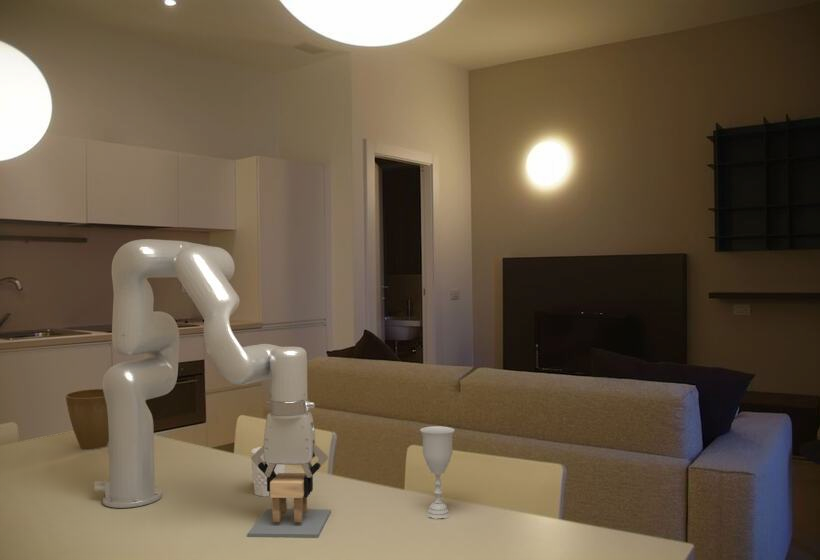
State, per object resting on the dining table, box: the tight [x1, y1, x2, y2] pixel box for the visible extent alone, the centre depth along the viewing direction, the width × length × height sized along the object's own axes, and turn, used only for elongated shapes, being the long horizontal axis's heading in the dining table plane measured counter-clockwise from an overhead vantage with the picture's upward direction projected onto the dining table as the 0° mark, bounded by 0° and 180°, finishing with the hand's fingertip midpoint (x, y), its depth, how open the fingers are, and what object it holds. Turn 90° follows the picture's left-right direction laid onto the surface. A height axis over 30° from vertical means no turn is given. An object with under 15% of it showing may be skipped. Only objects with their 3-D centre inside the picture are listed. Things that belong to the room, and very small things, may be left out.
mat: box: [246, 508, 332, 538], centre depth 143 cm, size 14×14×1 cm
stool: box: [269, 472, 308, 522], centre depth 143 cm, size 6×6×8 cm
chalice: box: [420, 425, 455, 518], centre depth 147 cm, size 7×7×18 cm
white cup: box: [250, 446, 286, 497], centre depth 164 cm, size 8×8×10 cm
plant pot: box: [65, 388, 109, 450], centre depth 209 cm, size 15×15×16 cm
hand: (290, 494), depth 143 cm, fingers closed on stool, 6 cm apart
